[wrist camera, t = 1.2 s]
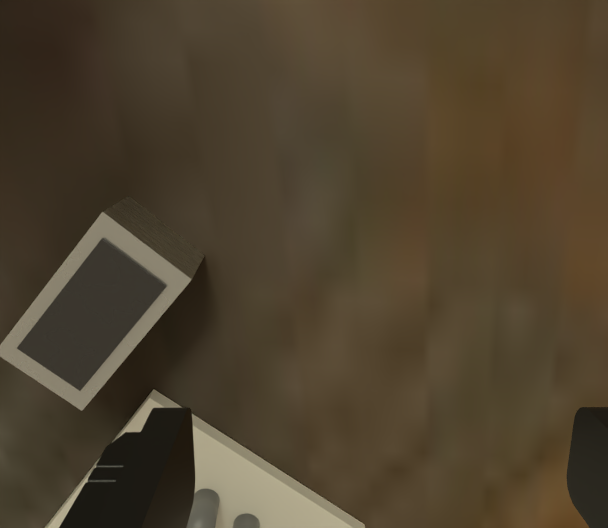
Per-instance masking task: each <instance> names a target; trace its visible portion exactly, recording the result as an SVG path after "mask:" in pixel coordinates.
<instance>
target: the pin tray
mask: <svg viewBox="0 0 608 528" xmlns="http://www.w3.org/2000/svg"><path fill="white" fill-rule="evenodd" d="M153 408H182V407H181V406H179V405H178V404H176V403H175V402H173V401H172V400H170V399H168V398H167V397H165V396H164V395H162V394H161V393H159V392H158V391H156V390H154V389H153V390H152V392H151V393H150V394H149V395H148V397H147V398H146V399H145V401H144V402H143V403H142V404H141V406H140V407H139V408H138V409H137V411H136V412H135V413H134V415H133V416H132V417H131V418H130V420H129V421H128V422H127V423H126V425H125V426H124V427H123V429H122V430H121V431H120V432H119V434H118V435H117V436H116V438H115V439H114V440H113V441H115V440H116V439H117V438H119V437H120V436H121V435H122V434H124V433H125V432H141V430H142V428H143V426H144V424H145V422H146V420H147V418H148V416H149V414H150V412H151V410H152V409H153ZM192 423H193V441H194V460H195V492H194V500H193V505H192V509H191V513H190V517H189V520H188V524H187V528H365V525H364V524H363V523H361V522H360V521H358V520H357V519H355V518H354V517H352V516H351V515H349V514H347V513H346V512H344V511H343V510H341V509H340V508H338V507H337V506H335V505H333V504H332V503H330V502H329V501H327V500H326V499H324V498H323V497H321V496H319V495H318V494H316V493H315V492H313V491H312V490H310V489H309V488H307V487H305V486H304V485H302V484H301V483H299V482H298V481H296V480H295V479H293V478H291V477H290V476H288V475H287V474H285V473H284V472H282V471H281V470H279V469H277V468H276V467H274V466H273V465H271V464H270V463H268V462H267V461H265V460H263V459H262V458H260V457H259V456H257V455H256V454H254V453H253V452H251V451H249V450H248V449H246V448H245V447H243V446H242V445H240V444H239V443H237V442H235V441H234V440H232V439H231V438H229V437H228V436H226V435H224V434H223V433H221V432H220V431H218V430H217V429H215V428H214V427H212V426H210V425H209V424H207V423H206V422H204V421H203V420H201V419H200V418H198V417H196V416H195V415H193V414H192ZM113 441H112V442H113ZM99 459H100V458H99ZM99 459H98V460H99ZM98 460H97V462H98ZM97 462H96V463H95V464H94V466H93V467H92V468H91V469H90V471H89V472H88V473H87V474H86V476H85V477H84V478H83V480H82V481H81V482H80V483H79V485H78V486H77V487H76V489H75V490H74V491H73V492H72V494H71V495H70V496H69V497H68V499H67V500H66V501H65V503H64V504H63V505H62V506H61V508H60V509H59V510H58V511H57V513H56V514H55V515H54V517H53V518H52V519H51V520H50V522H49V523H48V524H47V525H46V527H45V528H59V527H60V525H61V523H62V522H63V520H64V518H65V517H66V515H67V513H68V512H69V510H70V508H71V506H72V505H73V503H74V501H75V500H76V498H77V496H78V494H79V493H80V491H81V489H82V488H83V486H84V484H85V483H86V482H88V477H89V476H90V474H91V472H92V471H93V469H94V468H96V464H97Z"/></svg>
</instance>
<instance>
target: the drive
mask: <svg viewBox="0 0 608 528" xmlns="http://www.w3.org/2000/svg"><path fill="white" fill-rule="evenodd" d="M203 257H204V254H203V253H201V252H200V251H199V250H198V249H196V248H195V247H194V246H192V245H191V244H190V243H189V242H187V241H186V240H185V239H183V238H182V237H181V236H180V235H178V234H177V233H176V232H174V231H173V230H172V229H171V228H169V227H168V226H167V225H165V224H164V223H163V222H162V221H160V220H159V219H158V218H156V217H155V216H154V215H153V214H151V213H150V212H149V211H147V210H146V209H145V208H144V207H142V206H141V205H140V204H138V203H137V202H136V201H135V200H133V199H132V198H131V197H129V196H128V197H126V198H124V199H123V200H121V201H119V202H118V203H116V204H115V205H113V206H111V207H110V208H108V209H106V210H105V211H103V212H102V213H101V214H100V216H99V217H98V218H97V220H96V221H95V222H94V224H93V225H92V226H91V227H90V229H89V230H88V231H87V233H86V234H85V235H84V237H83V238H82V239H81V241H80V242H79V243H78V244H77V246H76V247H75V248H74V250H73V251H72V252H71V254H70V255H69V256H68V257H67V259H66V260H65V261H64V263H63V264H62V265H61V267H60V268H59V269H58V270H57V272H56V273H55V274H54V276H53V277H52V278H51V280H50V281H49V282H48V284H47V285H46V286H45V287H44V289H43V290H42V291H41V293H40V294H39V295H38V297H37V298H36V299H35V300H34V302H33V303H32V304H31V306H30V307H29V308H28V310H27V311H26V312H25V313H24V315H23V316H22V317H21V319H20V320H19V321H18V323H17V324H16V325H15V327H14V328H13V329H12V330H11V332H10V333H9V334H8V336H7V337H6V338H5V340H4V341H3V342H2V343H1V345H0V357H2V358H3V359H5V360H6V361H8V362H9V363H11V364H12V365H14V366H15V367H17V368H18V369H20V370H21V371H23V372H24V373H26V374H27V375H29V376H30V377H32V378H33V379H35V380H36V381H38V382H39V383H41V384H42V385H44V386H45V387H47V388H48V389H50V390H51V391H53V392H54V393H56V394H57V395H59V396H60V397H62V398H63V399H65V400H66V401H68V402H69V403H71V404H72V405H74V406H75V407H77V408H78V409H80V410H81V411H82V410H83V409H84V408H85V407H86V406H87V404H88V403H89V402H90V401H91V400H92V398H93V397H94V396H95V395H96V394H97V392H98V391H99V390H100V389H101V388H102V386H103V385H104V384H105V383H106V382H107V380H108V379H109V378H110V377H111V376H112V374H113V373H114V372H115V371H116V370H117V369H118V367H119V366H120V365H121V364H122V363H123V361H124V360H125V359H126V358H127V357H128V355H129V354H130V353H131V352H132V351H133V349H134V348H135V347H136V346H137V345H138V343H139V342H140V341H141V340H142V339H143V337H144V336H145V335H146V334H147V333H148V331H149V330H150V329H151V328H152V327H153V325H154V324H155V323H156V322H157V321H158V319H159V318H160V317H161V316H162V315H163V313H164V312H165V311H166V310H167V309H168V307H169V306H170V305H171V304H172V303H173V301H174V300H175V299H176V298H177V297H178V295H179V294H180V293H181V292H182V291H183V290H184V288H185V287H186V286H187V285H188V284H189V282H190V281H191V280H192V278H193V276H194V274H195V273H196V271H197V269H198V267H199V265H200V263H201V261H202V259H203Z"/></svg>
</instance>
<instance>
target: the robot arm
mask: <svg viewBox="0 0 608 528" xmlns="http://www.w3.org/2000/svg"><path fill="white" fill-rule="evenodd" d="M567 486H568V491H569V494H570V497H571V500H572V502H573V504H574V506H575V507H576V509H577V510H578V512H579V513H580V514H581V516H582V517H583V519H584V520H585V521H586V523H587V524H588V526H589V527H590V528H608V407H582V408H580V409H579V410H578V411H577V413H576V415H575V419H574V425H573V433H572V440H571V447H570V454H569V461H568V469H567ZM194 492H195V460H194V441H193V423H192V413H191V409H190V408H153V409H152V410H151V412H150V414H149V416H148V418H147V420H146V422H145V424H144V426H143V428H142V430H141V432H125V433H124V434H122V435H121V436H120V437H119V438H117V439H116V440H115V441H113V442H112V443H111V444H110V445H108V446H107V447H106V449H105V450H104V452H103V454H102V455H101V457H100V459H99V460H98V462H97V464H96V468H94V469H93V471H92V472H91V474H90V476H89V477H88V482H86V483H85V484H84V486H83V488H82V489H81V491H80V493H79V494H78V496H77V498H76V500H75V501H74V503H73V505H72V506H71V508H70V510H69V512H68V513H67V515H66V517H65V518H64V520H63V522H62V523H61V525H60V527H59V528H187V524H188V520H189V517H190V513H191V509H192V505H193V500H194Z"/></svg>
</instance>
